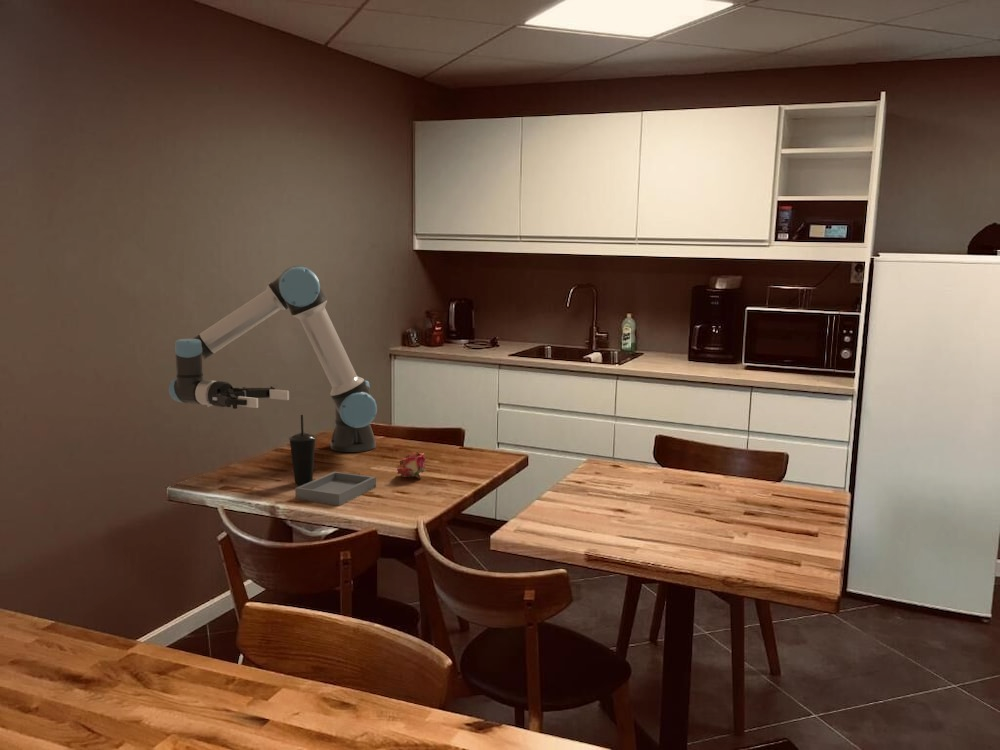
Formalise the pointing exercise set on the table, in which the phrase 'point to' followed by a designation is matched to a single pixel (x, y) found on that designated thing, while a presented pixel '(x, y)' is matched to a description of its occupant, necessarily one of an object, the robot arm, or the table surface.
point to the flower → (412, 465)
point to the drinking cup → (302, 455)
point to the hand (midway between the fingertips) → (273, 399)
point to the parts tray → (335, 488)
